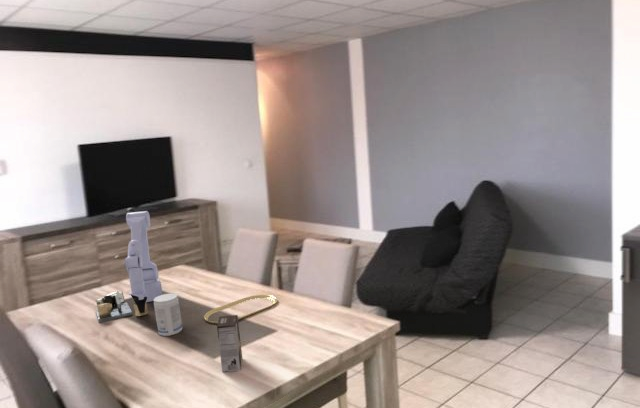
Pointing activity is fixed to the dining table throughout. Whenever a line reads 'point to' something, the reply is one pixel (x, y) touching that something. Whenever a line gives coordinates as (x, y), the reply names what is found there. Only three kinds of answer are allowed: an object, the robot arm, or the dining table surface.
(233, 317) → the coffee box
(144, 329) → the dining table surface
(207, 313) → the loop handle
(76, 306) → the dining table surface
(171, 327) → the supplement tub
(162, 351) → the dining table surface
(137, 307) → the tan hollow octagonal prism
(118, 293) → the pneumatic valve
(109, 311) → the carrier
